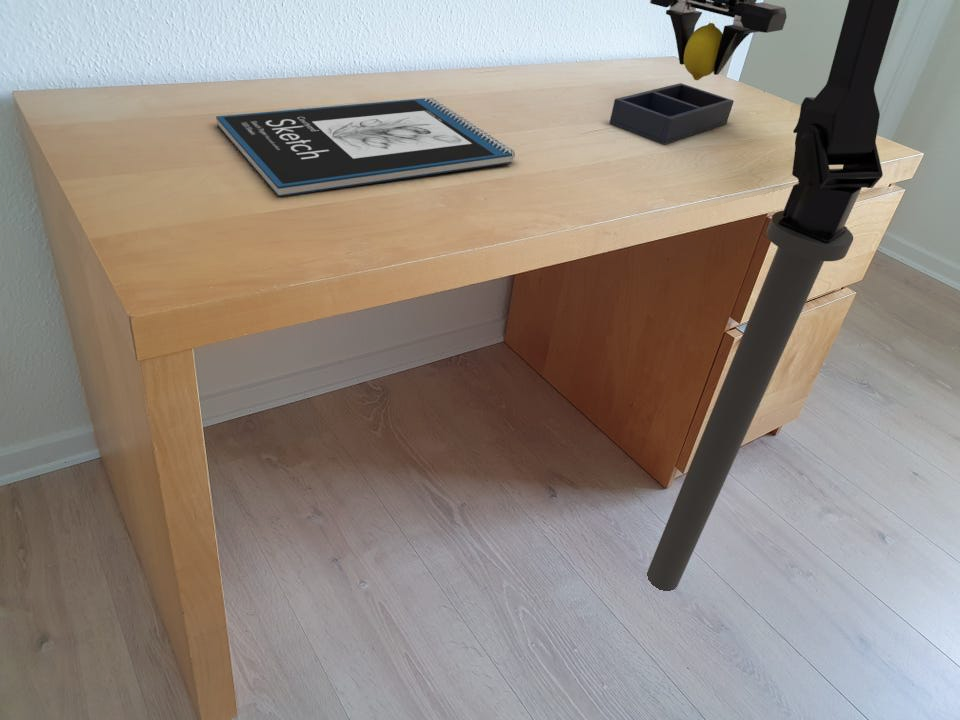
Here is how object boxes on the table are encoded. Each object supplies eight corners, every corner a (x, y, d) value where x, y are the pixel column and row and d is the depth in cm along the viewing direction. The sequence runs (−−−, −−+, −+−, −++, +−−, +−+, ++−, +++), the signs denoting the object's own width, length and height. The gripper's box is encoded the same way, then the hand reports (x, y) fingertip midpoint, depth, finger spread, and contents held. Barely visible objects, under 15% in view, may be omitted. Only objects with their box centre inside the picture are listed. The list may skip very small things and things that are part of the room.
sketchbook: (216, 127, 87) (215, 110, 86) (432, 109, 102) (433, 94, 100) (278, 198, 73) (277, 178, 72) (517, 165, 88) (520, 148, 86)
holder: (726, 123, 112) (734, 100, 109) (664, 144, 100) (671, 119, 98) (674, 105, 116) (680, 82, 114) (609, 123, 105) (614, 98, 103)
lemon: (708, 77, 110) (724, 21, 105) (719, 87, 106) (736, 29, 101) (673, 73, 110) (688, 16, 105) (682, 83, 105) (698, 24, 100)
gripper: (821, -38, 98) (780, 79, 107) (701, -62, 107) (673, 48, 116) (786, -37, 91) (746, 89, 100) (662, -62, 100) (635, 55, 109)
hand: (699, 69), depth 107 cm, fingers closed on lemon, 5 cm apart
